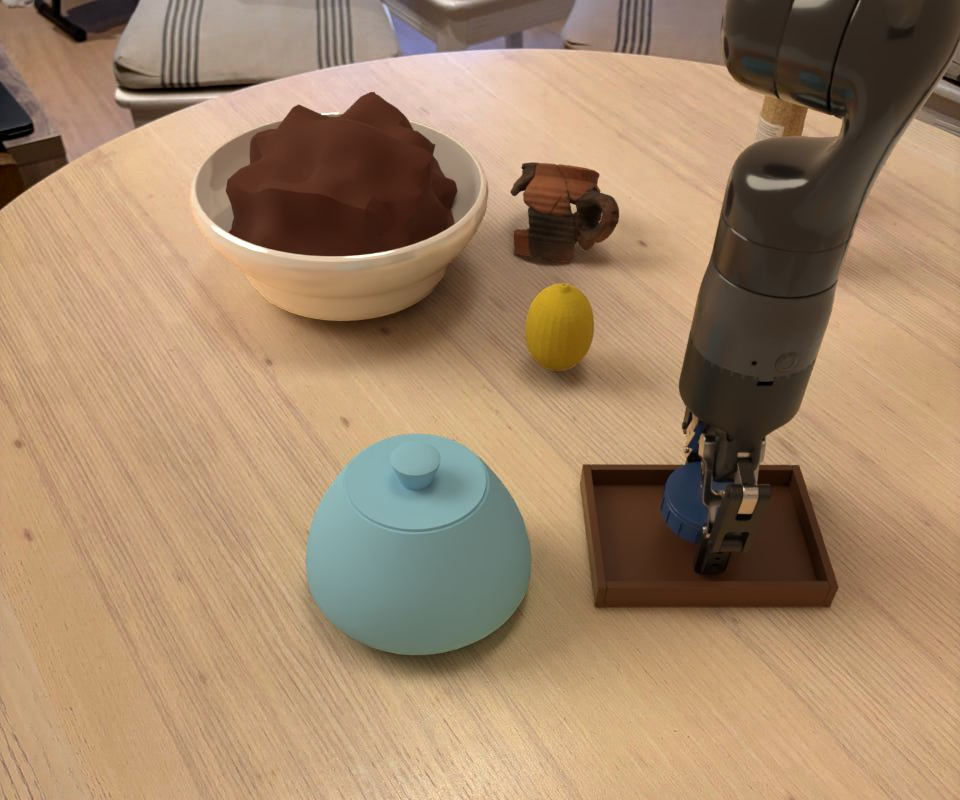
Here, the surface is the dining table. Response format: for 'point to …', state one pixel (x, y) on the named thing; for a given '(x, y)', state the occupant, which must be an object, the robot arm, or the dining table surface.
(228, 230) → the bowl of chocolate mousse
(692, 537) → the lid
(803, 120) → the sprinkles bottle
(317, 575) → the sugar bowl
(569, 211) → the pottery mug
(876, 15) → the robot arm
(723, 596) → the tray
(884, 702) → the dining table surface
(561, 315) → the lemon
